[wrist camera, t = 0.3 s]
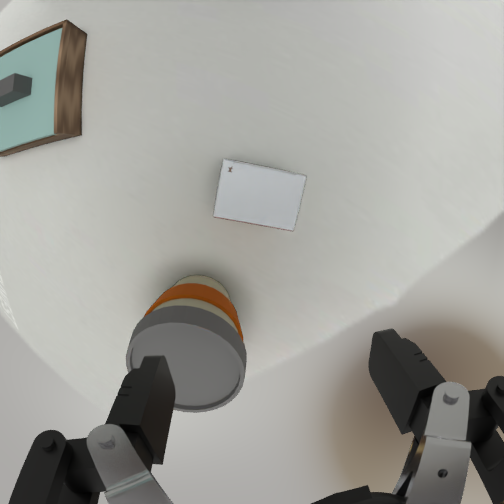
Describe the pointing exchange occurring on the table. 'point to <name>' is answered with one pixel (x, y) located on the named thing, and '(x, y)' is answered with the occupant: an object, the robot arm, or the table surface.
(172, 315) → the reusable coffee cup
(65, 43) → the walnut box
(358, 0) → the table surface
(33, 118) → the cover plate
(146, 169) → the table surface
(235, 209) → the small box
